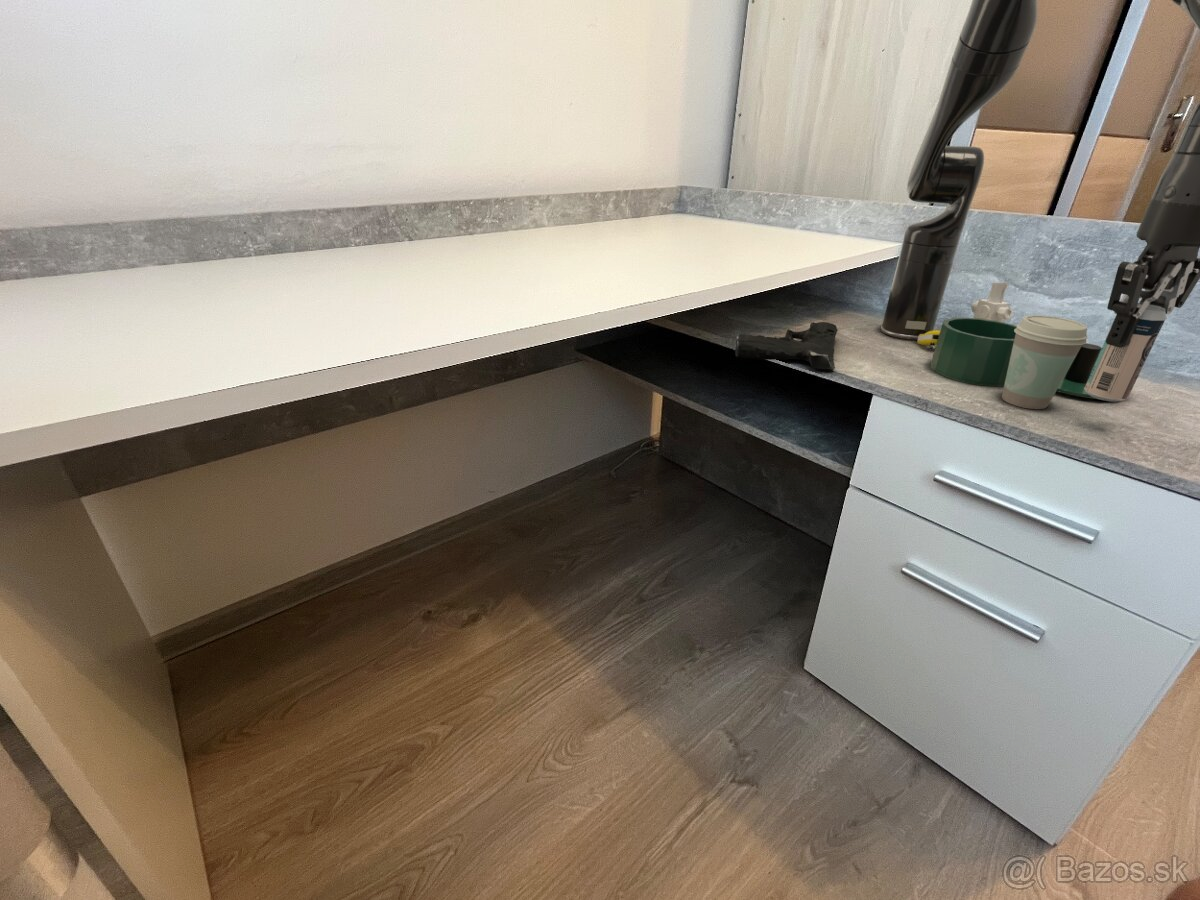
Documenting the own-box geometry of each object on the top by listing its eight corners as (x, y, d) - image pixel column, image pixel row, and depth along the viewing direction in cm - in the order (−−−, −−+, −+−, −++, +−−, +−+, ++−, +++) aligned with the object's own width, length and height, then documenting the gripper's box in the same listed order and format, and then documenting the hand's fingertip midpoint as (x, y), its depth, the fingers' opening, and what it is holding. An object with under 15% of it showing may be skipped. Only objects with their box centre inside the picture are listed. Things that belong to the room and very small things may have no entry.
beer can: (1135, 405, 77) (1179, 313, 71) (1093, 401, 78) (1134, 310, 72) (1114, 391, 81) (1155, 303, 76) (1075, 387, 82) (1112, 300, 76)
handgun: (746, 327, 120) (749, 310, 118) (834, 337, 115) (838, 319, 114) (729, 361, 103) (732, 342, 101) (832, 375, 98) (836, 354, 96)
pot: (920, 357, 106) (932, 315, 103) (997, 362, 105) (1012, 320, 101) (944, 382, 95) (958, 336, 92) (1030, 389, 94) (1048, 342, 90)
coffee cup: (987, 387, 94) (1013, 311, 88) (1051, 396, 91) (1082, 318, 86) (996, 407, 87) (1025, 326, 81) (1065, 417, 84) (1100, 334, 79)
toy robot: (989, 353, 109) (1011, 286, 104) (955, 340, 116) (975, 277, 110) (1005, 351, 110) (1029, 285, 105) (971, 339, 117) (992, 276, 111)
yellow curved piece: (922, 347, 108) (926, 327, 108) (915, 350, 114) (918, 331, 114) (984, 354, 105) (988, 334, 105) (973, 356, 111) (977, 337, 111)
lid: (1008, 368, 102) (1022, 330, 99) (1096, 374, 100) (1113, 336, 97) (1046, 398, 90) (1063, 356, 87) (1147, 406, 88) (1168, 364, 85)
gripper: (1197, 204, 62) (1126, 359, 71) (1271, 200, 67) (1196, 346, 76) (1119, 196, 68) (1061, 340, 77) (1192, 194, 73) (1130, 329, 82)
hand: (1129, 342), depth 76 cm, fingers closed on beer can, 4 cm apart
